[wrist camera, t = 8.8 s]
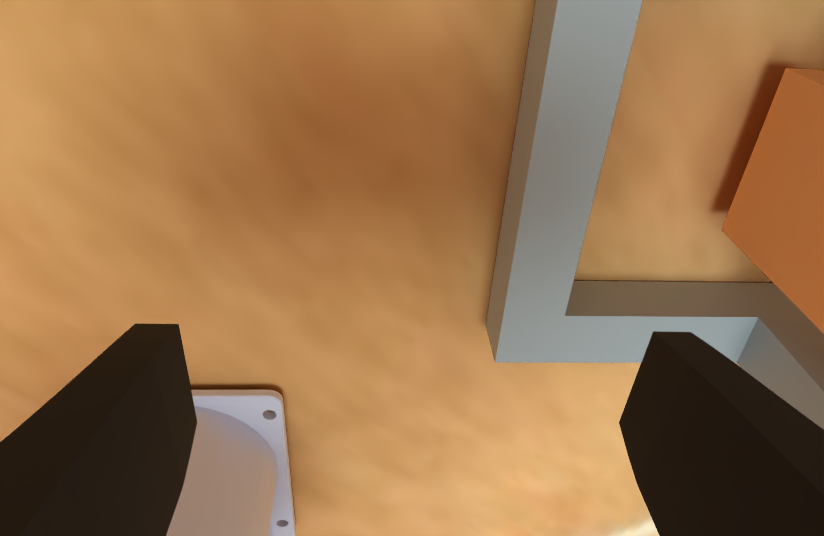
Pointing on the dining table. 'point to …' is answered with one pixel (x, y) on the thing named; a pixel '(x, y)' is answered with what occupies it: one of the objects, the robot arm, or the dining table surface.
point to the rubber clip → (787, 194)
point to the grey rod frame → (568, 217)
